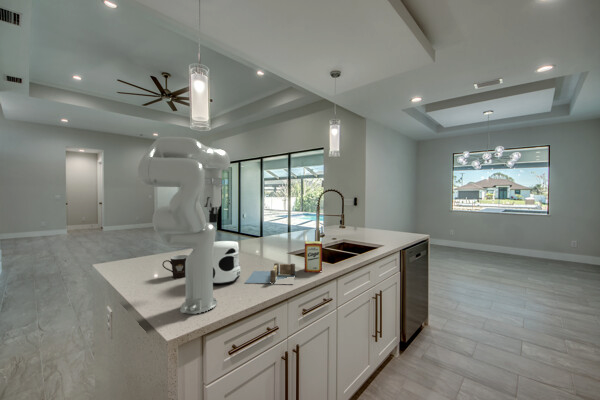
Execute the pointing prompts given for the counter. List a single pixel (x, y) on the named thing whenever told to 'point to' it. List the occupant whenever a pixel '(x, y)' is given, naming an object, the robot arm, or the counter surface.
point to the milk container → (225, 262)
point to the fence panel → (273, 274)
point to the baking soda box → (313, 256)
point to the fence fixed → (286, 269)
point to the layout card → (264, 277)
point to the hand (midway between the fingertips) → (213, 222)
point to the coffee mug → (177, 266)
